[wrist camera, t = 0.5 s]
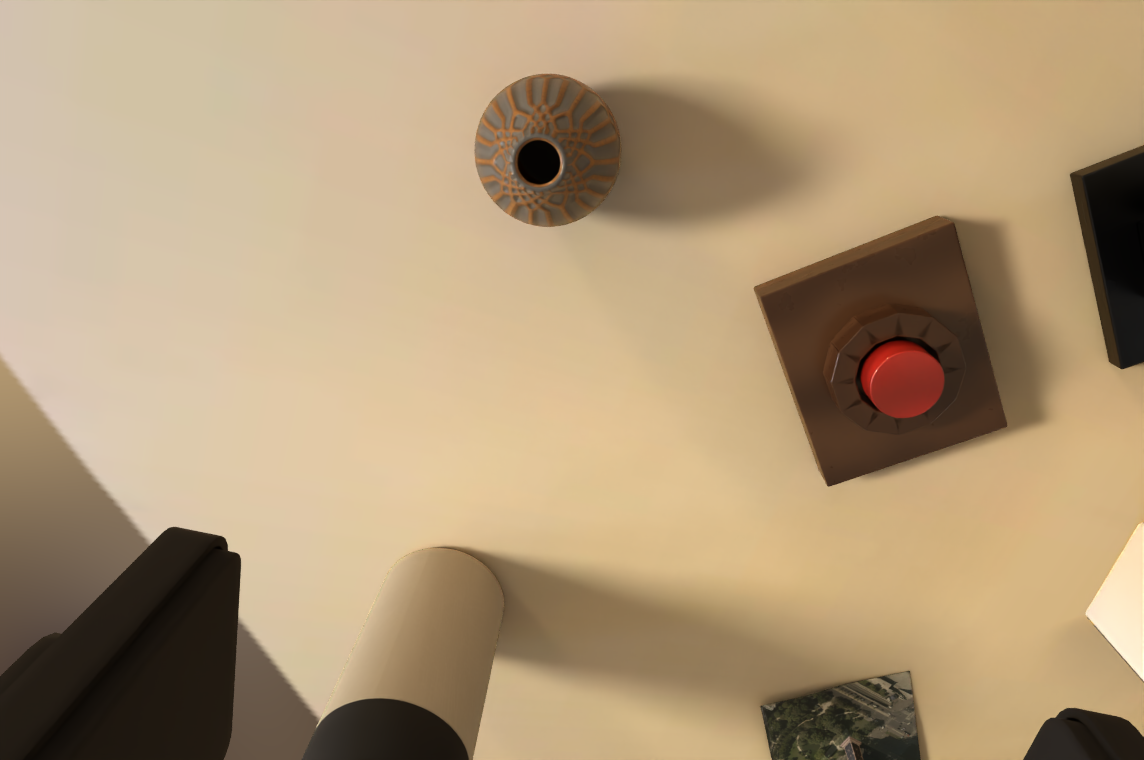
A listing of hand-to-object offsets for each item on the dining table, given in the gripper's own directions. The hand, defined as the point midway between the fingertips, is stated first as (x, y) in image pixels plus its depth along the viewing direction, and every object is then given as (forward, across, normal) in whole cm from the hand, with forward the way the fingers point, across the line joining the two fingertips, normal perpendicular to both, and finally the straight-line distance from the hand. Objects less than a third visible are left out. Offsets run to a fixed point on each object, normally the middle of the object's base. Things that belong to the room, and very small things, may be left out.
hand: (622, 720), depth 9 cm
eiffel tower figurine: (+35, -24, +34) cm, 54 cm away
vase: (+35, +4, -3) cm, 36 cm away
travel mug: (+35, +6, +26) cm, 44 cm away
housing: (+35, -16, +4) cm, 39 cm away
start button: (+31, -16, +4) cm, 35 cm away
